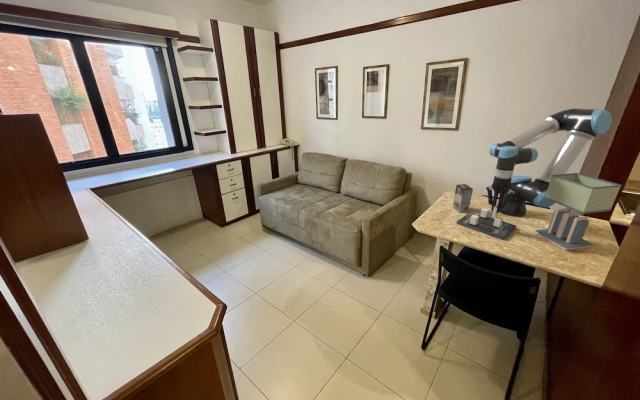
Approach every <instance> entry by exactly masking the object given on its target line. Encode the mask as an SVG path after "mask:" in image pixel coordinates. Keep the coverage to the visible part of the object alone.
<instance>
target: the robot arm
mask: <svg viewBox="0 0 640 400" xmlns="http://www.w3.org/2000/svg"><path fill="white" fill-rule="evenodd" d="M612 121H613V120H612V114H611V112H610V111H609V110H605V109H599V108H597V109H596V108H595V109H593V108H589V109H588V108H568V109H564V110H562V111H558V112H556V113H553V114H551V115H549V116H547V117H545V118H544V119H542V120H541V122H539V123H538V124H535V125H534V126H532V127H530V128H528V129H526V130H524V131H522V132H520V133H519V134H517V135H515V136H514V137H511V138H509V139H508V140H506V141H504V142H502V143H500V142H499V143H498V142H497V143H492V144H491V146H490V147H489V149H488V153H489V155H490V156H492V157H494V158H497V162H496V168H495V172H494V177H493V181H492V184H491V185H488V186H487V187H485V189H486V191H487V200H488V205H491V209H490V211H491V212H492V215H491V218H494V219H495V218H496V217H498V214H499V213H501V214H503V215H506V216H509V217H524V216H526V215H527V206H526V202H527V203H530V204H532V205H534V206H536V207H541V208H549V207H552V206H554V205H555V204H556V203H555V202H552V201H550V200H547V199H545V196H546V193H547V189H548V186H549V183H550V180H551V177H552V175H559V174H568V171H569V169H571V167H572V166H573V164H574V162H575V161H576V159H577V158H578V157H579V156H580V154H581V153H582V151H583V150H584V149H585V147H586V145H587V144H588V142H589V141H593V140H594V139H596V137H597V136H600V135H604V134H605V133H606V132H608V130H609V129H610V127H611V125H612ZM562 131H563V132H565V133H566V138H565V139H564V141H563V142H562V144H561V145H560V147H559V148H558V150H557V151H556V152H555V154H554V156H553V158H552V159H551V160H550V162H549V164H548V165H547V167H546V168H545V170H544V171H543V172H542V175H540V177H535V179H534V181H532V180H533V177H531V176H527V175H514V171H515V170H514V169H515V166H516V165H521V164H529V163H533V162H535V161H536V160H537V159H538V157H539V151H538V150H537V148H535V147H527V146H529V145H530V144H532V143H534V142H536V141H538V140H540V139H542V138H544V137H545V136H547V135H550V134H555V133H557V132H562ZM493 192H494V193H493Z"/></svg>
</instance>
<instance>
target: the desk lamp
mask: <svg viewBox="0 0 640 400" xmlns="http://www.w3.org/2000/svg"><path fill="white" fill-rule="evenodd" d="M621 187H622V184H619V183H616V182H611V181H608V180H605V179H601V178H597V177H594V176H590V175H586V174H582V173H578V172H572V173H566V174H559V175H552V177H551V180H550V183H549V186H548V189H547V193H546V196H545V199H547V200H550V201H552V202H555V204H558V205H560V206H563V207H565V208H557V209H555V210H553V212H552V216H551V219H550V222H549V225H548V227H547V228H543V229H535V230H534V231H535V232H536V233H538V236H539V237H541V238H542V239H544V240H546V241H548V242H550V243H552V244H553V245H555V246H557V247H558V248H560V249H562V250H564V251H568V249H571V250H576V249H575V248H579V249H584V248H583V247H587V248H588V247H589V246H590V247H591V246H594V245H595V243H592V242H591V241H588V240H587V239H585V238H584V235H585V233H586V230H587V228H588V226H589V223H590V220H589V219H590V216H588V215H586V214H593V213H602V212H604V213H605V212H611V211H612V207H613V206H614V202H615V201H616V198H617V196H618V193H619V191H620V189H621ZM569 210H570V211H569ZM580 214H583V215H584V214H585V215H586V216H585V215H584V216H580Z"/></svg>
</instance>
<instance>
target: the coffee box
mask: <svg viewBox="0 0 640 400" xmlns="http://www.w3.org/2000/svg"><path fill="white" fill-rule="evenodd" d="M473 191H474V190H473V187H471V186H469V185H468V184H466V183H464V184H463V183H462V184H461V183H460V184H456V186H455V193H454V198H453V203H452V208H454V209H455V210H456V211H457V212H458V213H469V211H470V205H471V201H472V195H473Z"/></svg>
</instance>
